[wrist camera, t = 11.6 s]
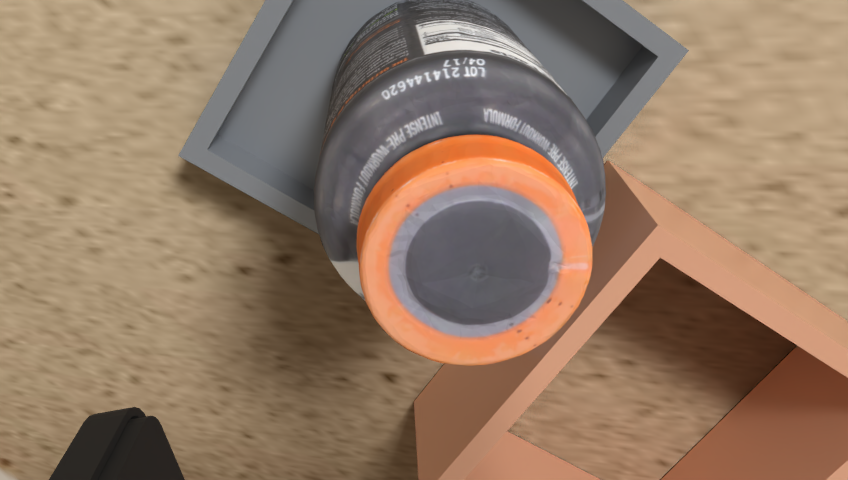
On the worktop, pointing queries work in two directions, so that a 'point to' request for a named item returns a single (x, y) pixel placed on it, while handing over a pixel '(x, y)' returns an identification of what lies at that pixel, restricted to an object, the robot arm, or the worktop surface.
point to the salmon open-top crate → (609, 284)
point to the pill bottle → (457, 184)
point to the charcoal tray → (327, 40)
